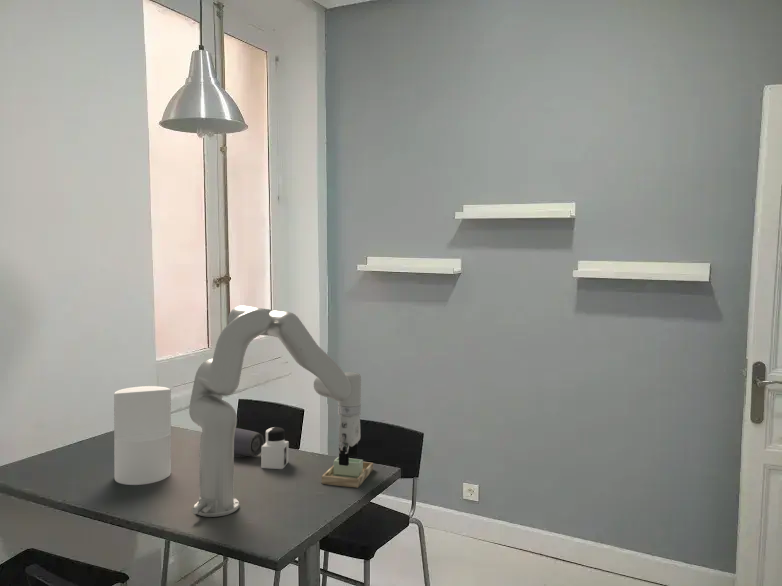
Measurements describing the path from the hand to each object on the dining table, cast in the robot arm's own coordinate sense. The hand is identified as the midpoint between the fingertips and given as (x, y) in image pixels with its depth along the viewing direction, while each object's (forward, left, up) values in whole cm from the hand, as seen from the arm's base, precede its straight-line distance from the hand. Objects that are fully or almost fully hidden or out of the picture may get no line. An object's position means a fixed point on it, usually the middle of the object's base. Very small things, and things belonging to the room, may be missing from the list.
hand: (348, 460), depth 203 cm
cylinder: (-19, +65, -6) cm, 68 cm away
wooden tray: (0, 0, -5) cm, 5 cm away
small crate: (0, 0, -5) cm, 5 cm away
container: (+3, +28, -6) cm, 29 cm away
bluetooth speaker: (+9, +48, -6) cm, 49 cm away
